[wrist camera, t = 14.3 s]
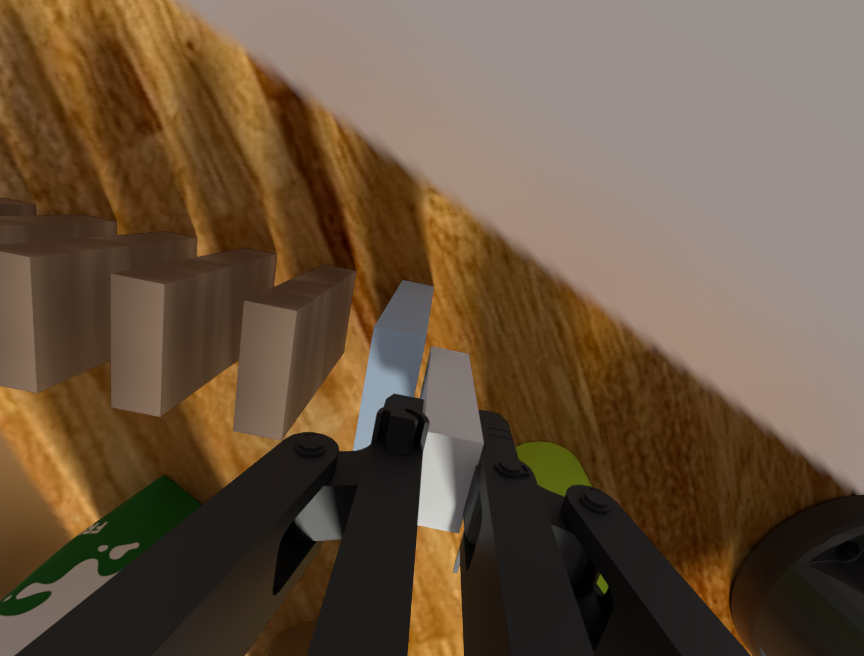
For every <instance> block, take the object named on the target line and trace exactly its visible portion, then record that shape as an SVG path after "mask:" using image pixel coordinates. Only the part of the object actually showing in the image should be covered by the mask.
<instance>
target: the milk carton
mask: <svg viewBox="0 0 864 656" xmlns="http://www.w3.org/2000/svg"><path fill="white" fill-rule="evenodd" d="M201 506H202V504H201V503H199V502H198V501H197V500H196V499H194V498H193V497H192V496H191V495H189V494H188V493H187V492H185V491H184V490H183V489H182V488H180V487H179V486H178V485H177V484H175V483H174V482H173V481H172V480H170V479H169V478H168V477H166V476H165V475H163V476H162V477H160V478H159V479H157V480H156V481H154V482H153V483H152V484H150V485H149V486H147V487H146V488H144V489H143V490H142V491H140V492H139V493H137V494H136V495H134V496H133V497H131V498H130V499H129V500H127V501H126V502H124V503H123V504H121V505H120V506H119V507H117V508H116V509H114V510H113V511H111V512H110V513H109V514H107V515H106V516H104V517H103V518H101V519H100V520H99V521H97V522H96V523H94V524H93V525H91V526H90V527H89V528H87V529H86V530H84V531H83V532H81V533H80V534H79V535H77V536H76V537H75V538H74V539H72V540H71V541H70V542H68V543H67V544H66V545H65V546H63V547H62V548H61V549H60V550H59V551H58V552H56V553H55V554H54V555H53V556H52V557H51V558H49V559H48V560H47V561H46V562H45V563H44V564H42V565H41V566H40V567H39V568H37V569H36V570H35V571H34V572H33V573H32V574H31V575H30V576H28V577H27V578H26V579H25V580H24V581H23V582H22V583H20V584H19V585H18V586H17V587H16V588H15V589H13V590H12V592H10V593H9V594H8V595H7V596H6V597H4V598H3V599H2V600H1V601H0V656H14V655H16V654H17V653H18V652H19V651H21V650H22V649H23V648H24V647H26V646H27V645H28V644H29V643H31V642H32V641H33V640H34V639H36V638H37V637H38V636H39V635H41V634H42V633H43V632H44V631H46V630H47V629H48V628H49V627H51V626H52V625H53V624H54V623H56V622H57V621H58V620H59V619H61V618H62V617H63V616H64V615H66V614H67V613H68V612H69V611H71V610H72V609H73V608H74V607H76V606H77V605H78V604H79V603H81V602H82V601H83V600H84V599H86V598H87V597H88V596H89V595H91V594H92V593H93V592H94V591H96V590H97V589H98V588H99V587H101V586H102V585H103V584H104V583H106V582H107V581H108V580H109V579H111V578H112V577H113V576H114V575H116V574H117V573H118V572H119V571H121V570H122V569H123V568H124V567H126V566H127V565H128V564H129V563H131V562H132V561H133V560H134V559H136V558H137V557H138V556H139V555H141V554H142V553H143V552H144V551H146V550H147V549H148V548H149V547H151V546H152V545H153V544H154V543H156V542H157V541H158V540H159V539H161V538H162V537H163V536H164V535H166V534H167V533H168V532H169V531H171V530H172V529H173V528H174V527H176V526H177V525H178V524H179V523H181V522H182V521H183V520H184V519H186V518H187V517H188V516H189V515H191V514H192V513H193V512H194V511H196V510H197V509H198V508H199V507H201Z"/></svg>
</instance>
